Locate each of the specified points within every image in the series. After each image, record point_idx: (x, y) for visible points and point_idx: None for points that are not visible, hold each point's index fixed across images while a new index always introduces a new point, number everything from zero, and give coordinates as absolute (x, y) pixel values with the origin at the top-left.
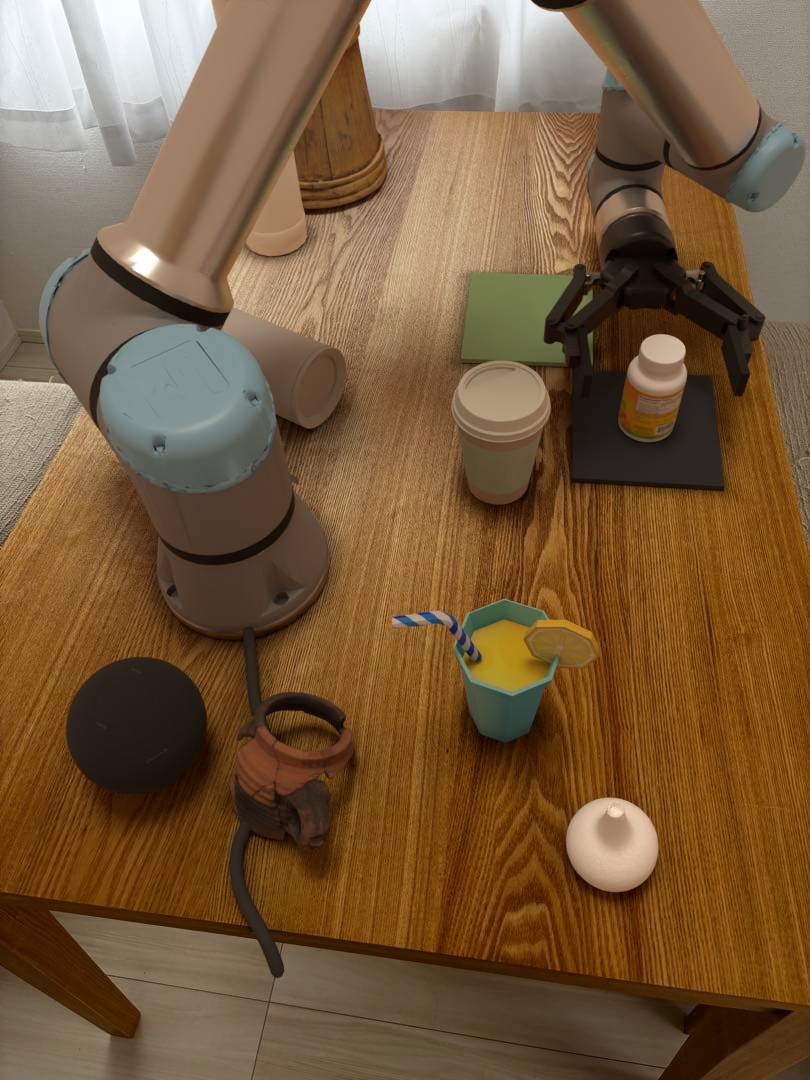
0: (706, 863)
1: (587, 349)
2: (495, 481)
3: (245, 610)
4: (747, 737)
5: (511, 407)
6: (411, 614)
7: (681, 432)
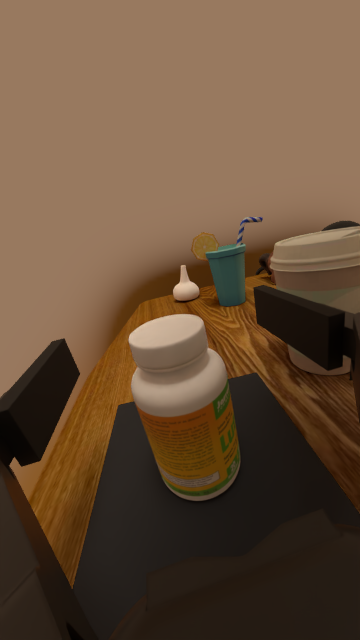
0: (160, 304)
1: (287, 299)
2: None
3: None
4: (142, 322)
5: (299, 240)
6: (255, 217)
7: (150, 459)
